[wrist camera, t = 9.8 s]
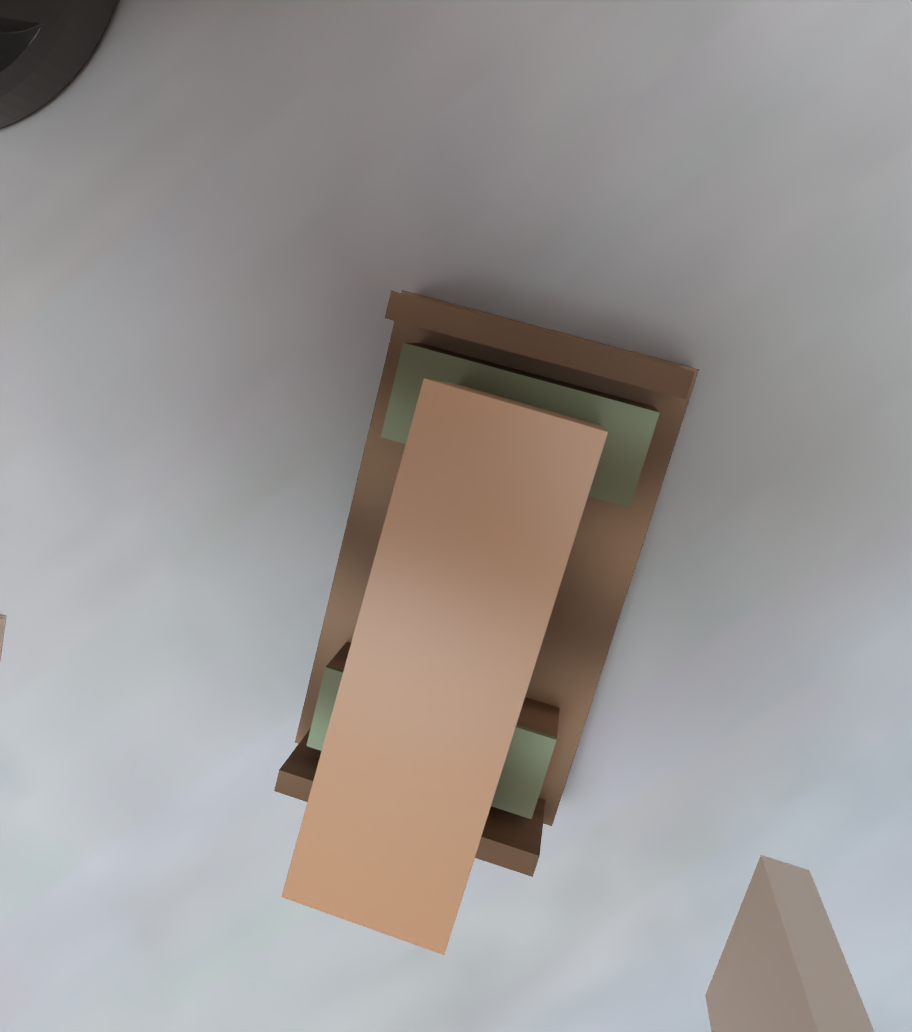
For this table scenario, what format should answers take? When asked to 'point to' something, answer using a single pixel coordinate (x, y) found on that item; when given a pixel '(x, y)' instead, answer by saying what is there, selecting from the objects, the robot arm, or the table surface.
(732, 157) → the table surface
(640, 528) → the stand
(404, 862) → the tan rectangular block
